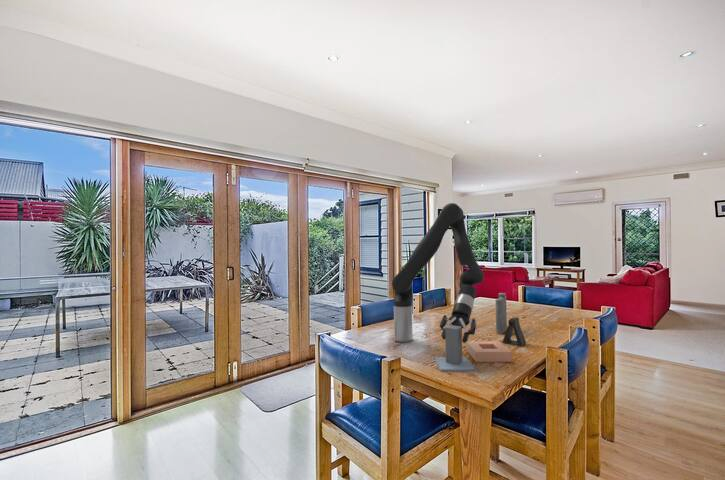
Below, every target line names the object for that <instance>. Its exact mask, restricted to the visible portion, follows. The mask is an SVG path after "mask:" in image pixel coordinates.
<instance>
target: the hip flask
mask: <svg viewBox="0 0 725 480" xmlns="http://www.w3.org/2000/svg"><path fill="white" fill-rule="evenodd" d="M507 319H508V318H507V294H506V293H505V292H504V293H503V292H499V293H498V298H496V299H495V329H496V330H495V333H496V334H499V335H500V334H504V333H506V331H507V328H508V323H507Z"/></svg>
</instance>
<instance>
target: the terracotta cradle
mask: <svg viewBox="0 0 725 480" xmlns="http://www.w3.org/2000/svg"><path fill="white" fill-rule="evenodd" d="M466 352H468V354H469V355H470V356H471V357H472V358H473V360H474V361H475V362H476V363H487V362H488V363H490V362H491V363H496V362H497V363H499V362H503V363H506V362H507V363H508V362H513V351H512V350H511V349H509V348H508V347H506V345H504V343H503V342H501V341H499V340H491V341H490V340H488V341H487V340H481V341H477V340H476V341H471V340H470V341H467V342H466Z"/></svg>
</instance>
